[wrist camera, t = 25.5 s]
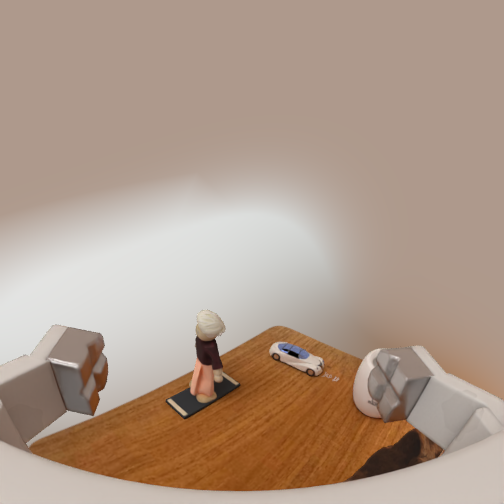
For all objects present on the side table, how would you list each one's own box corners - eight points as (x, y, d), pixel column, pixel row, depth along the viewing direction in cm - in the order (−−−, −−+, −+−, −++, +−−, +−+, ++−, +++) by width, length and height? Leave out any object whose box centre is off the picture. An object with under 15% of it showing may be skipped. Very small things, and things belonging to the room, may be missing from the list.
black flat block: (184, 419, 33) (184, 417, 33) (165, 401, 35) (165, 399, 35) (240, 385, 40) (240, 383, 40) (220, 372, 43) (221, 370, 43)
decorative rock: (402, 466, 27) (445, 407, 24) (424, 499, 22) (477, 444, 18) (314, 494, 24) (349, 439, 21) (333, 538, 19) (380, 494, 15)
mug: (336, 410, 37) (354, 367, 35) (358, 379, 44) (374, 338, 41) (412, 442, 31) (439, 402, 28) (424, 406, 37) (446, 366, 35)
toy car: (334, 386, 42) (339, 374, 41) (266, 356, 48) (268, 343, 47) (342, 374, 45) (347, 361, 44) (277, 346, 51) (280, 333, 50)
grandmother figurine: (177, 380, 39) (177, 300, 35) (201, 372, 41) (206, 294, 37) (207, 417, 34) (212, 335, 29) (232, 407, 36) (244, 326, 32)
